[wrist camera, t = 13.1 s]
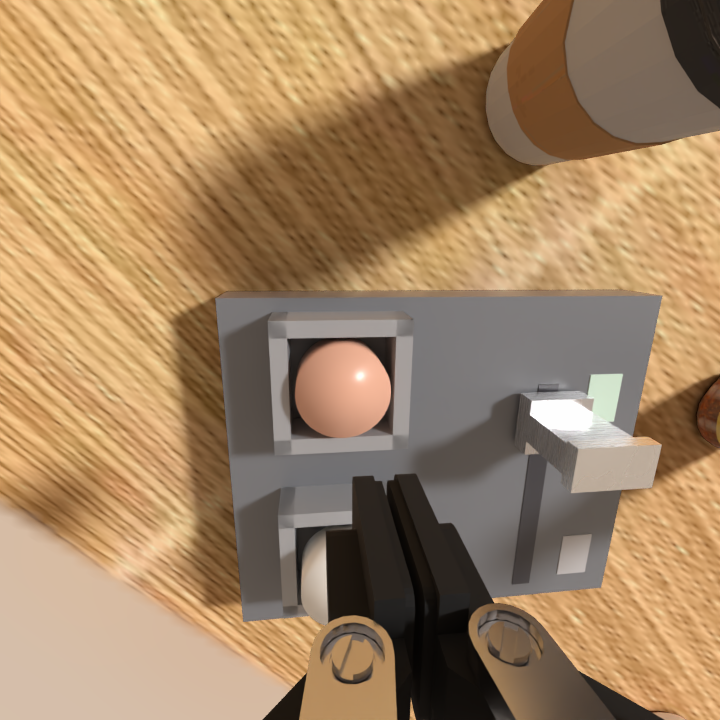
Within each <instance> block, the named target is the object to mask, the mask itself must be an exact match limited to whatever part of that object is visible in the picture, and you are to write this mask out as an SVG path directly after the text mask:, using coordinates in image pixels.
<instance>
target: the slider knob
mask: <svg viewBox="0 0 720 720" xmlns="http://www.w3.org/2000/svg"><path fill="white" fill-rule="evenodd" d="M593 402H594V398H592V397H590V396H589V395H587V394H585V393H583V392H581V391H563V392H534V393H521V394H520V402H519V410H518V418H517V426H516V435H515V443H514V445H515V446H516V447H517V448H518V449H519V450H520V451H521V452H522V453H523V454H524V455H528V454H540V455H541V456H543V457H544V458H545V459H546V460H547V461H548V462H549V463H550V464H551V465H552V466H554V467H555V468H556V469H557V470H558V471H559V472H560V473H561V474H562V477H561V484H562V485H563V486H564V487H565V488H566V489H567V490H568V491H569V492H570V493H582V492H597V491H612V490H627V489H642V488H652V485H653V481H654V477H655V472H656V468H657V464H658V459H659V455H660V451H661V447H662V444H660V443H658V442H656V441H655V440H653V439H651V438H649V437H632V436H631V435H629V434H627V433H626V432H624V431H622V430H621V429H619V428H617V427H616V426H614V425H612V424H611V423H609V422H607V421H606V420H604V419H602V418H601V417H599V416H597V415H596V414H594V413H592V408H593Z"/></svg>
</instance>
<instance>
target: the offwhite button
mask: <svg viewBox="0 0 720 720" xmlns="http://www.w3.org/2000/svg"><path fill="white" fill-rule="evenodd" d="M345 529H352V524H344V525H331V526H328V527H325V528H323V529H321V530H320V531H318V532H317V533H316V534H314V535H313V536H312V537H311V538H310V539H309V541H308V542H307V544H306V546H305V547H304V550H303V554H302V577H301V600H302V604H303V607H304V609H305V611H306V612H307V614H308V615H309V616H310V617H311V618H312V619H314V620H315V621H316V622H318V623H320V624H323V625H327V624H328V606H327V575H326V531H329V530H345Z"/></svg>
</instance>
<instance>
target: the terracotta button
mask: <svg viewBox="0 0 720 720" xmlns="http://www.w3.org/2000/svg"><path fill="white" fill-rule="evenodd" d="M390 398H391V385H390V380H389V377H388V374H387V372H386V370H385V369H384V367H383V365H382V364H381V362H380V360H379V359H378V357H377V355H376V354H375V352H374V351H373V350H372V349H371V348H370V347H369V346H368V345H367V344H365V343H364V342H362V341H360V340H358V339H356V338H352V337H348V338H325V339H323V340H321V341H319V342H317V343H315V344H314V345H312V346H311V347H310V348H309V349H308V350H307V351H306V352H305V354H304V355H303V357H302V358H301V360H300V363H299V365H298V369H297V376H296V387H295V401H296V405H297V409H298V411H299V413H300V415H301V417H302V418H303V420H304V421H305V422H306V423H307V424H308V425H309V426H310V427H311V428H312V429H314V430H315V431H317V432H319V433H321V434H323V435H326V436H329V437H334V438H349V437H354V436H357V435H360V434H363V433H365V432H367V431H368V430H370V429H371V428H373V427H374V426H375V425H376V424H377V423H378V422H379V421H380V420H381V419H382V417H383V416H384V414H385V412H386V411H387V408H388V406H389V403H390Z"/></svg>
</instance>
